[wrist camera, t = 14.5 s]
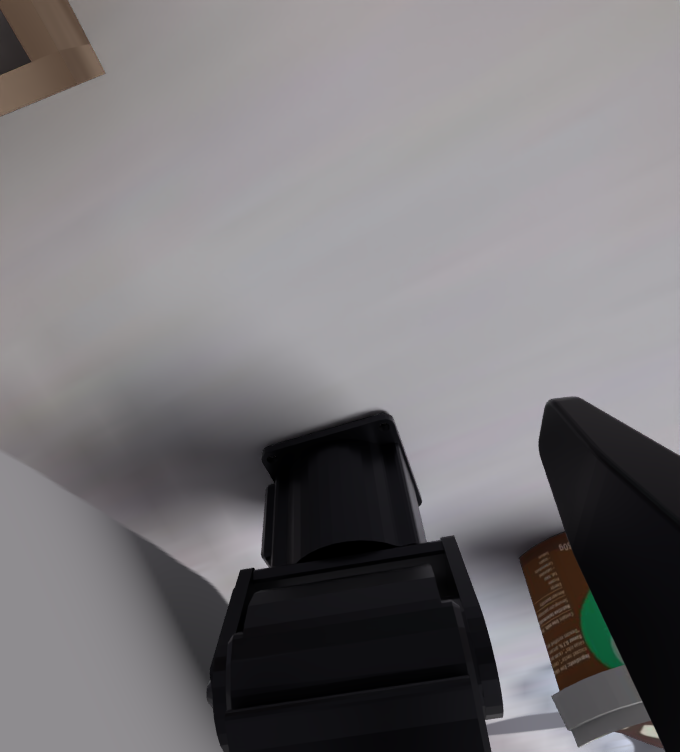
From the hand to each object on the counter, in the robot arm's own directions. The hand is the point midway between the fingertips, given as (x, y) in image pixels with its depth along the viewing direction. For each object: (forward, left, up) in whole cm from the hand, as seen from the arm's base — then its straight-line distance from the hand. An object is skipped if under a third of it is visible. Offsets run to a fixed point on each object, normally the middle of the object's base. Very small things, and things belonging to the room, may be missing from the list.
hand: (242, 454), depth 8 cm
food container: (-11, +26, -13) cm, 31 cm away
